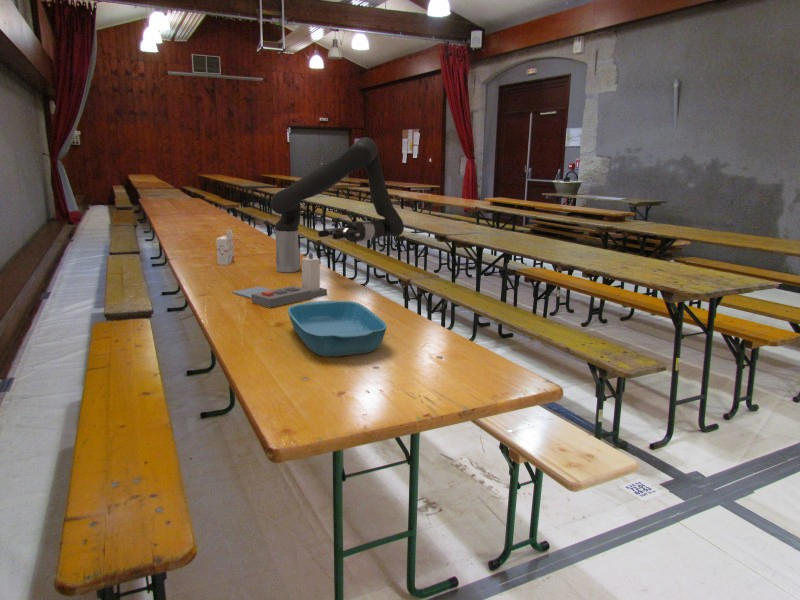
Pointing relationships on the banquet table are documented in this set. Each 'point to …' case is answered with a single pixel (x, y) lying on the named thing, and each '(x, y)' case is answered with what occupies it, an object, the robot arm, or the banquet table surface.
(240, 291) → the rubber mat
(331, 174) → the robot arm
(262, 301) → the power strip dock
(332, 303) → the casserole dish
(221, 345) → the banquet table surface
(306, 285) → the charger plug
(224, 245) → the ink cartridge box
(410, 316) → the banquet table surface
